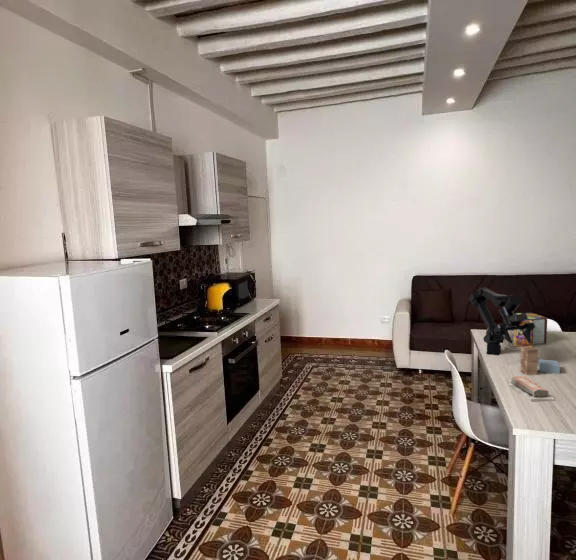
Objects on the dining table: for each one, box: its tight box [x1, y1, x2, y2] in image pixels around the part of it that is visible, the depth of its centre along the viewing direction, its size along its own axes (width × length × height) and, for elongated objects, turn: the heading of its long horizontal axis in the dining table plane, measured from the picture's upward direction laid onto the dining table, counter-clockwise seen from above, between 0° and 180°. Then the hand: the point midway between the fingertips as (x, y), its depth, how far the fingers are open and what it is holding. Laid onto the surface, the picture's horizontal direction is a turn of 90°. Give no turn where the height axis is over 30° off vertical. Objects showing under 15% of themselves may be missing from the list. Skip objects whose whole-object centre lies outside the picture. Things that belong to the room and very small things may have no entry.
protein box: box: [515, 312, 548, 345], centre depth 252 cm, size 10×15×16 cm
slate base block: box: [537, 358, 561, 374], centre depth 204 cm, size 8×8×4 cm
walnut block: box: [520, 346, 539, 376], centre depth 200 cm, size 5×5×12 cm
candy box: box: [512, 320, 533, 348], centre depth 242 cm, size 9×4×15 cm, turn 73°
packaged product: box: [507, 375, 555, 402], centre depth 179 cm, size 18×5×10 cm
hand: (520, 342), depth 207 cm, fingers open, 9 cm apart
